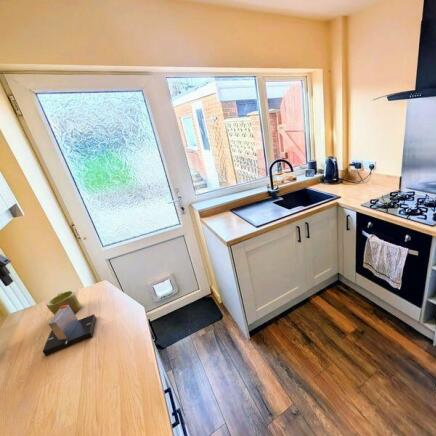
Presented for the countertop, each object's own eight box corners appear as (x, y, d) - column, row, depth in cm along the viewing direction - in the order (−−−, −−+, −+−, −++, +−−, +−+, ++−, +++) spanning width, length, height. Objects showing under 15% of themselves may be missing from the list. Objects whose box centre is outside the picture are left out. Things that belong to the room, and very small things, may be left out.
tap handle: (67, 339, 90) (55, 321, 86) (60, 341, 90) (47, 323, 86) (79, 321, 98) (68, 304, 94) (72, 323, 98) (60, 306, 94)
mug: (84, 308, 106) (65, 292, 102) (59, 326, 102) (38, 310, 98) (89, 297, 116) (72, 282, 112) (66, 313, 113) (48, 298, 109)
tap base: (44, 358, 87) (40, 353, 86) (55, 332, 97) (51, 328, 96) (92, 339, 93) (89, 334, 92) (97, 316, 103) (94, 312, 102)
